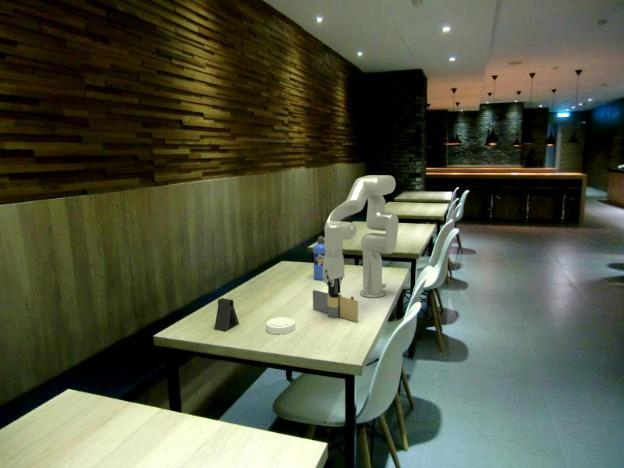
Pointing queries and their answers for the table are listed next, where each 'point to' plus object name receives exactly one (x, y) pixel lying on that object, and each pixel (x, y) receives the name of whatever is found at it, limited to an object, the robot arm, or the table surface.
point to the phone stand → (226, 315)
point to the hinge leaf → (344, 306)
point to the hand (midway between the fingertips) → (334, 293)
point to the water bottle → (319, 258)
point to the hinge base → (324, 305)
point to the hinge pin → (335, 288)
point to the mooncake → (280, 325)
